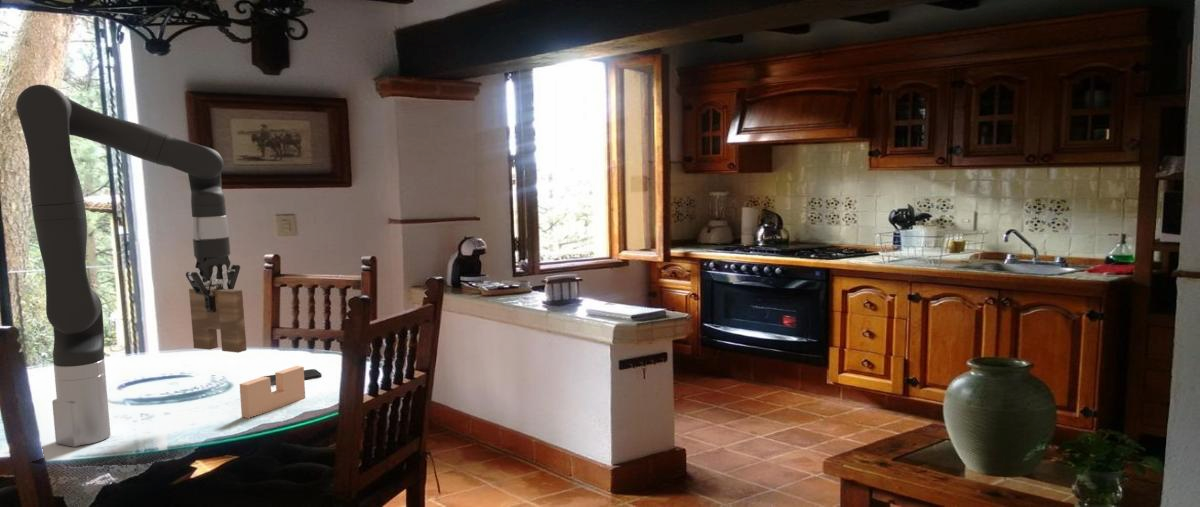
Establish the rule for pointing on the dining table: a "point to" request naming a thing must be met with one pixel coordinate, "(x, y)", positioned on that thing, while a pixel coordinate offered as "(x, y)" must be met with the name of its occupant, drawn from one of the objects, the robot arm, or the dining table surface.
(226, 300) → the upright wooden board
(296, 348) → the dining table surface
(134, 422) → the dining table surface
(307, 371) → the phone
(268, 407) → the horizontal wooden crosspiece
